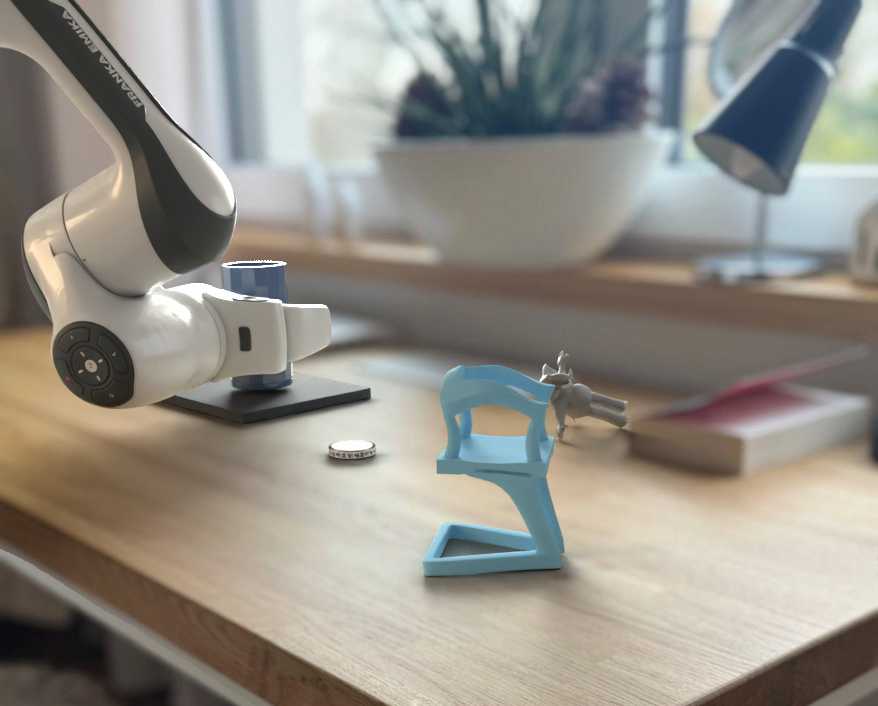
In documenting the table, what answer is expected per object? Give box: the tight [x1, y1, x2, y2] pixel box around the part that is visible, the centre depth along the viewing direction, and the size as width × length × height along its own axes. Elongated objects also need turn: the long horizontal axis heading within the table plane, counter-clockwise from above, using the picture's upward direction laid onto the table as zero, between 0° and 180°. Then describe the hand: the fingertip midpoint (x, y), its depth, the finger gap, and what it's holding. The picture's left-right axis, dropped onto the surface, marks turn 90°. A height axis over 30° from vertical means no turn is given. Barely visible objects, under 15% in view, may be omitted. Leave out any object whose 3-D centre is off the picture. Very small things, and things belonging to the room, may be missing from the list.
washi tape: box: [327, 439, 377, 460], centre depth 92 cm, size 4×4×1 cm
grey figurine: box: [538, 350, 630, 441], centre depth 98 cm, size 10×6×9 cm
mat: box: [160, 371, 372, 424], centre depth 113 cm, size 16×16×1 cm
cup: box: [219, 260, 294, 390], centre depth 110 cm, size 6×6×12 cm
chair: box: [422, 364, 566, 577], centre depth 66 cm, size 8×8×12 cm
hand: (261, 314), depth 111 cm, fingers closed on cup, 6 cm apart
